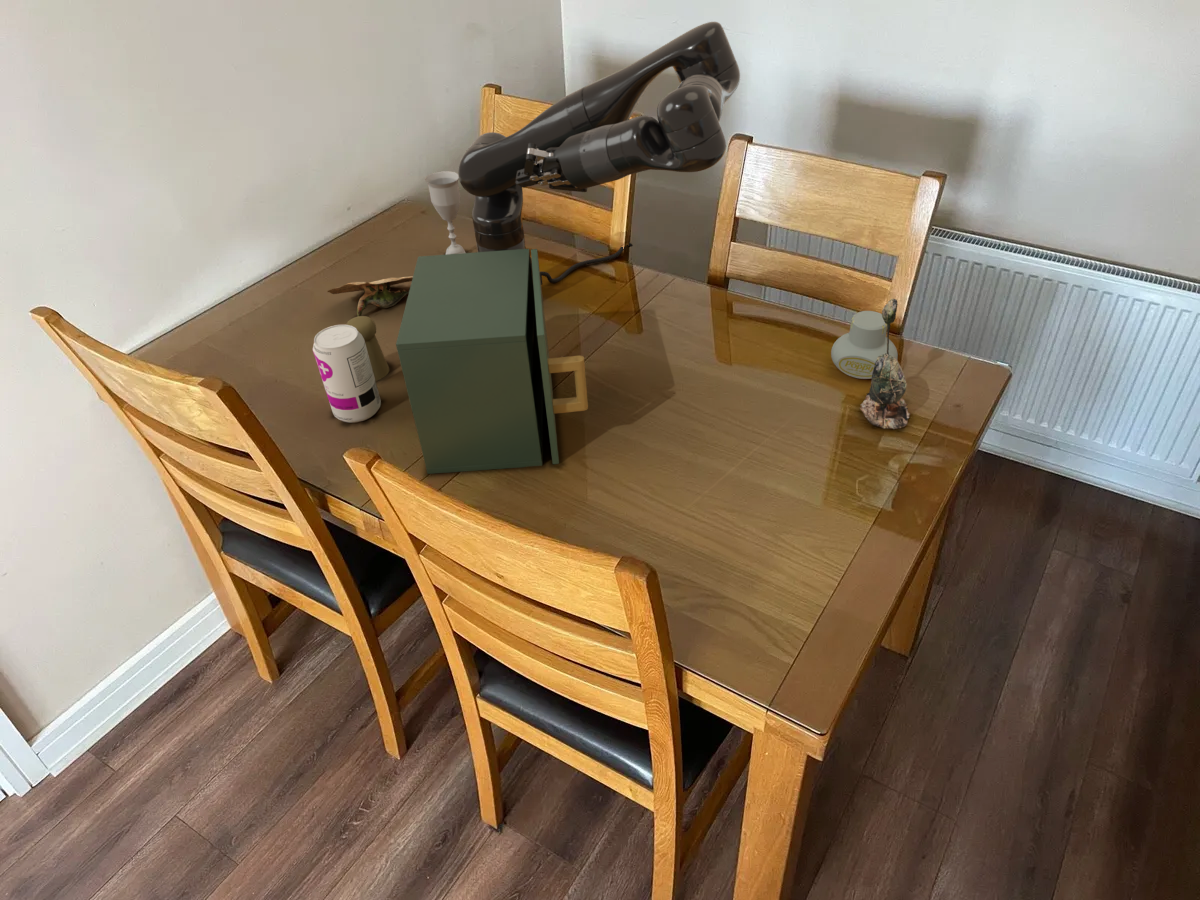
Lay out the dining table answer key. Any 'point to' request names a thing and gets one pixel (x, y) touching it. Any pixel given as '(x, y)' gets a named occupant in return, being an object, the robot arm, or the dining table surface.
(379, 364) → the pawn
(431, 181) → the chalice
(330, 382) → the supplement can
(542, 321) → the door
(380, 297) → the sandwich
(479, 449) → the cupboard
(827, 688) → the dining table surface
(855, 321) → the air freshener
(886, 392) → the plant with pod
